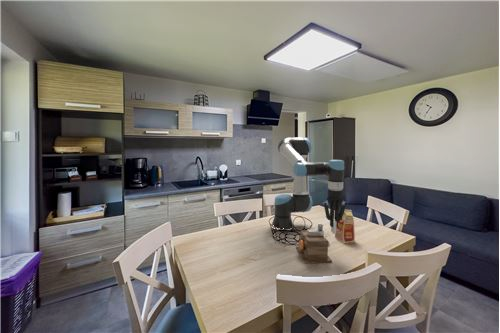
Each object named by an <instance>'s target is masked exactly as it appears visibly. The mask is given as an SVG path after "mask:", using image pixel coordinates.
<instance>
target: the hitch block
mask: <svg viewBox="0 0 500 333" xmlns="http://www.w3.org/2000/svg"><path fill="white" fill-rule="evenodd" d="M307 230H308V229H305V230H300V234H299V236H300V237H299V240H303V241H304V242H305V248H304V250H300V248H299V246H295V249H296V251H297V252H298V254H299V256H300V258H301V260H302V261H303V263H304V264H307V265H309V264H333V260H332V259H331V257H329V255H328V254H329V247H328V241H329V240H328V239H327V238H326V237H325V235H324V236H308V234H307Z"/></svg>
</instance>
